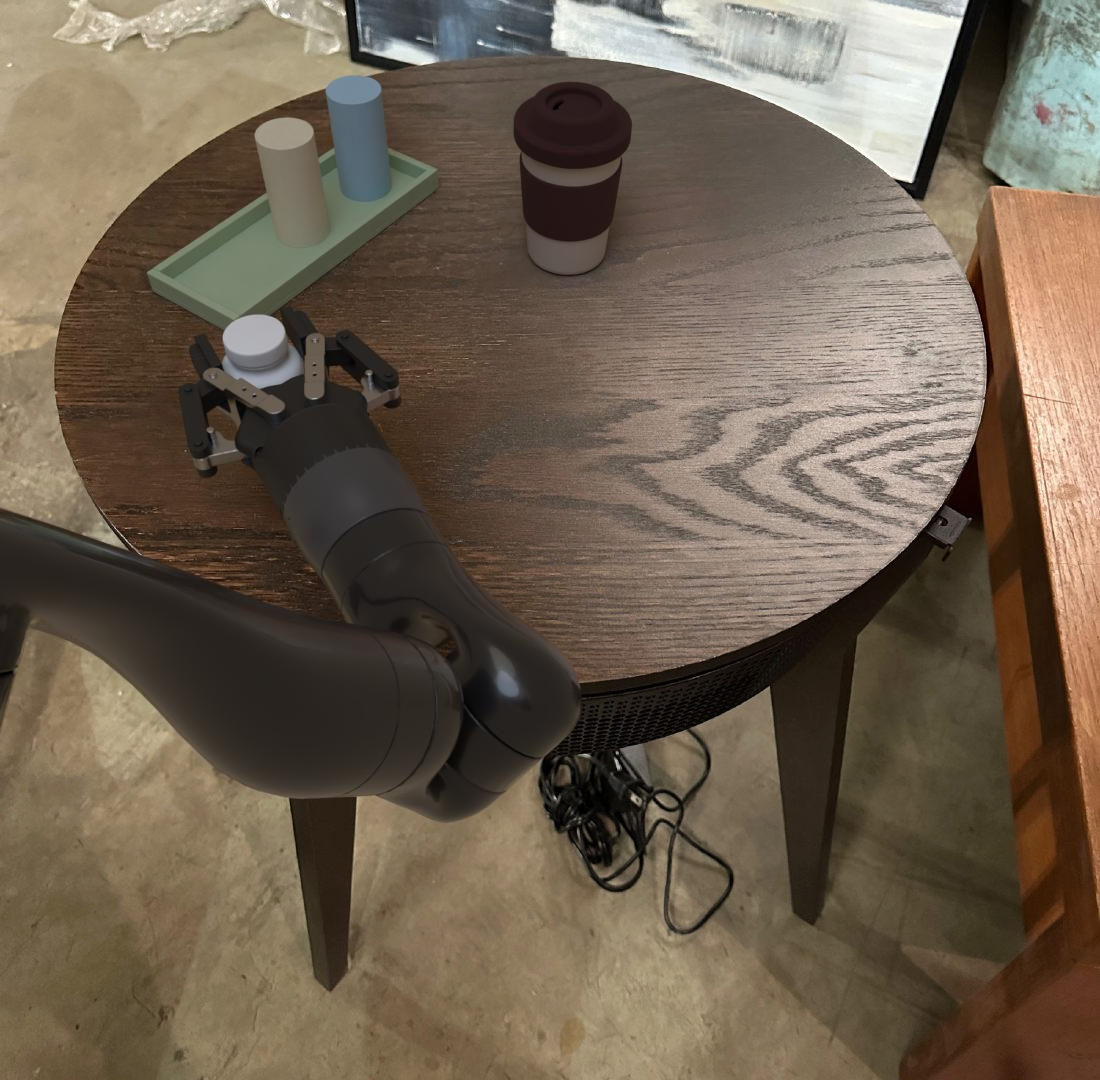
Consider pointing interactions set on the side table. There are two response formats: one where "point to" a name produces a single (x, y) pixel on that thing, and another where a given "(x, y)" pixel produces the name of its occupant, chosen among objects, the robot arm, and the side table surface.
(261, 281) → the tray
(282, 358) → the supplement bottle
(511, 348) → the side table surface
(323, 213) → the beige upright cylinder
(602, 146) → the coffee cup
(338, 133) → the blue cylinder
